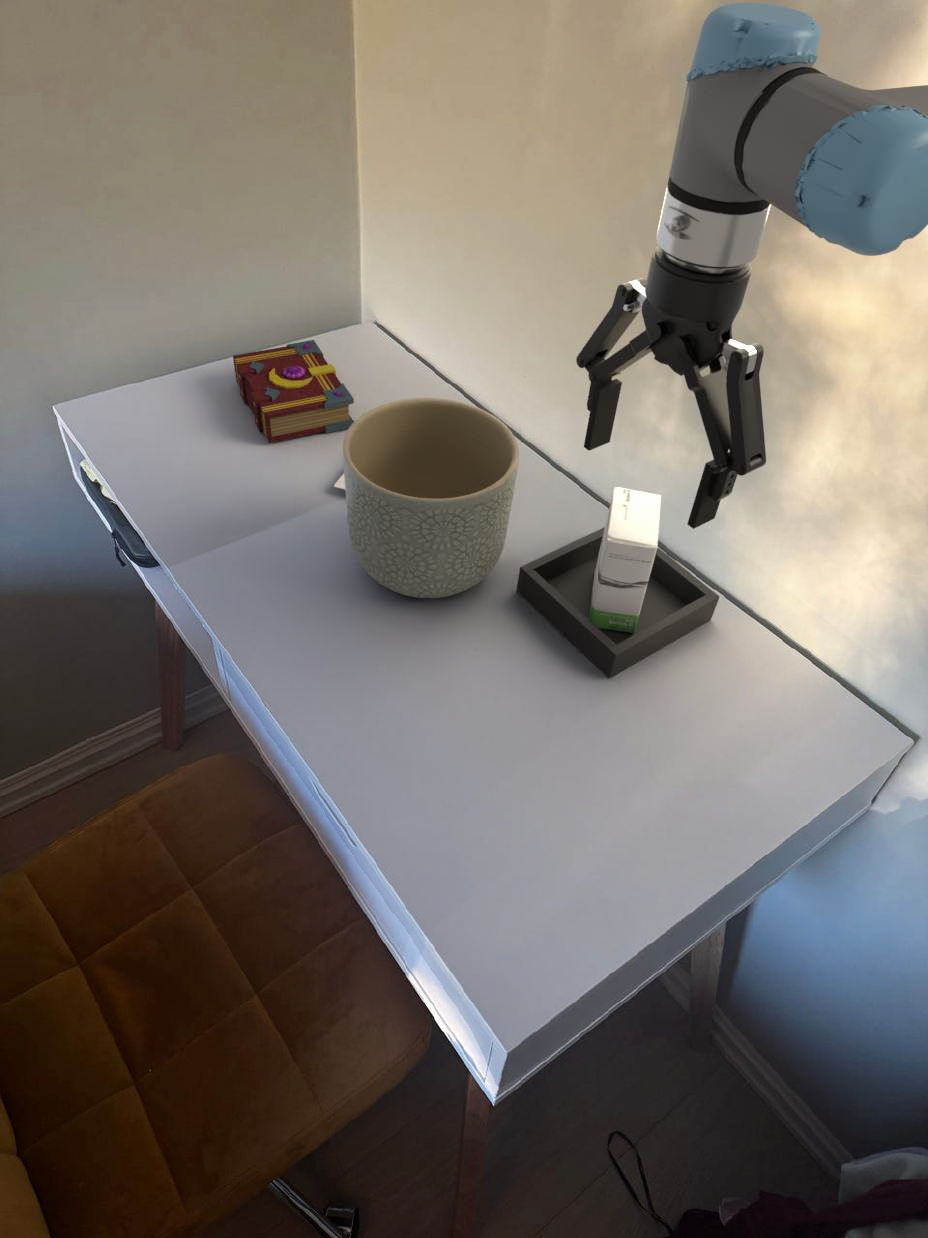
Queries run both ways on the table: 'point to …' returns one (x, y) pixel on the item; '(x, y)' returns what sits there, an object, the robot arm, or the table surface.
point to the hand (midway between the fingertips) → (646, 481)
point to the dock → (566, 599)
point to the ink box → (625, 559)
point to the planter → (429, 494)
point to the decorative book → (292, 391)
